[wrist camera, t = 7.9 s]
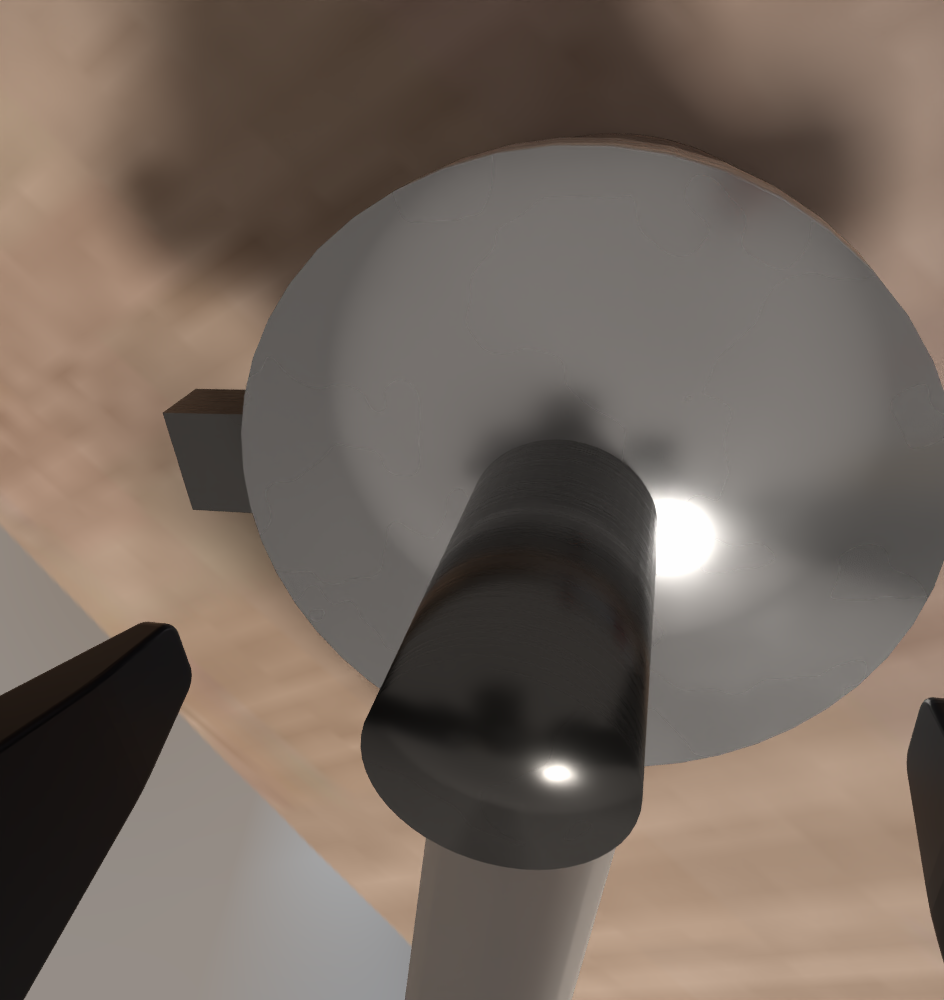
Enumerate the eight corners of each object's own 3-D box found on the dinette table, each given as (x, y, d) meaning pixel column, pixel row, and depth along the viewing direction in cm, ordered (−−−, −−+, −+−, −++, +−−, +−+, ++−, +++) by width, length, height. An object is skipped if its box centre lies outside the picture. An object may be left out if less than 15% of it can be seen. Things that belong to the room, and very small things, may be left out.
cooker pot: (1048, 102, 14) (1257, 143, 9) (928, 565, 19) (1016, 759, 14) (248, 158, 17) (73, 207, 12) (327, 528, 22) (224, 669, 17)
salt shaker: (427, 687, 25) (226, 1188, 14) (599, 668, 23) (518, 1242, 12) (486, 809, 27) (354, 1316, 16) (647, 803, 25) (615, 1379, 14)
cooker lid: (1034, 106, 9) (1468, 199, 4) (866, 760, 14) (959, 1142, 9) (199, 160, 12) (-168, 256, 7) (327, 694, 17) (178, 966, 12)
